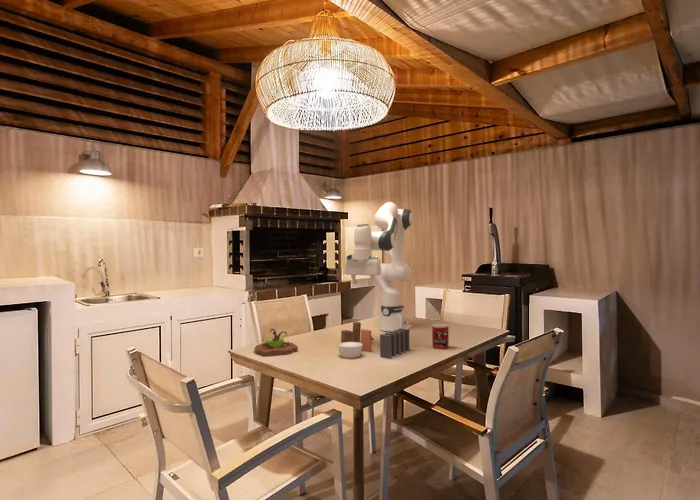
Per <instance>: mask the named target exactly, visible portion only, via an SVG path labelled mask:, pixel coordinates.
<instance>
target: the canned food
mask: <svg viewBox="0 0 700 500" xmlns="http://www.w3.org/2000/svg"><path fill="white" fill-rule="evenodd" d="M431 326H432V327H431V331H432V334H431V335H432V348H433V349H436V350H447V349H449V347H450V346H449V341H450V340H449V338H450V337H449V335H450V334H449V333H450V332H449V324H446V323H433V324H432V325H431Z"/></svg>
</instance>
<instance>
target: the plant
mask: <svg viewBox="0 0 700 500" xmlns="http://www.w3.org/2000/svg"><path fill="white" fill-rule="evenodd" d="M268 332H269V333H270V334H271V333H272V335H273V337H271V338H268V339H264V341H265V342H262V343H259V344H257V345H255V347H254V353H255V354H256V355H259V356H262V357H264V358H265V357H267V358H269V357H277V356H285V355H292V354H293V353H297V352H299V346H298V345H296V344H295V343H293V342H290V341H285V337H281V334H282V333H284V334H285V336H288V334H289V333H288V332H287V331H284V330H283V331H281V332H279V333H278V334H277V331H276V329H275V328H270V329H269V330H268ZM280 337H281V338H280Z"/></svg>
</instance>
